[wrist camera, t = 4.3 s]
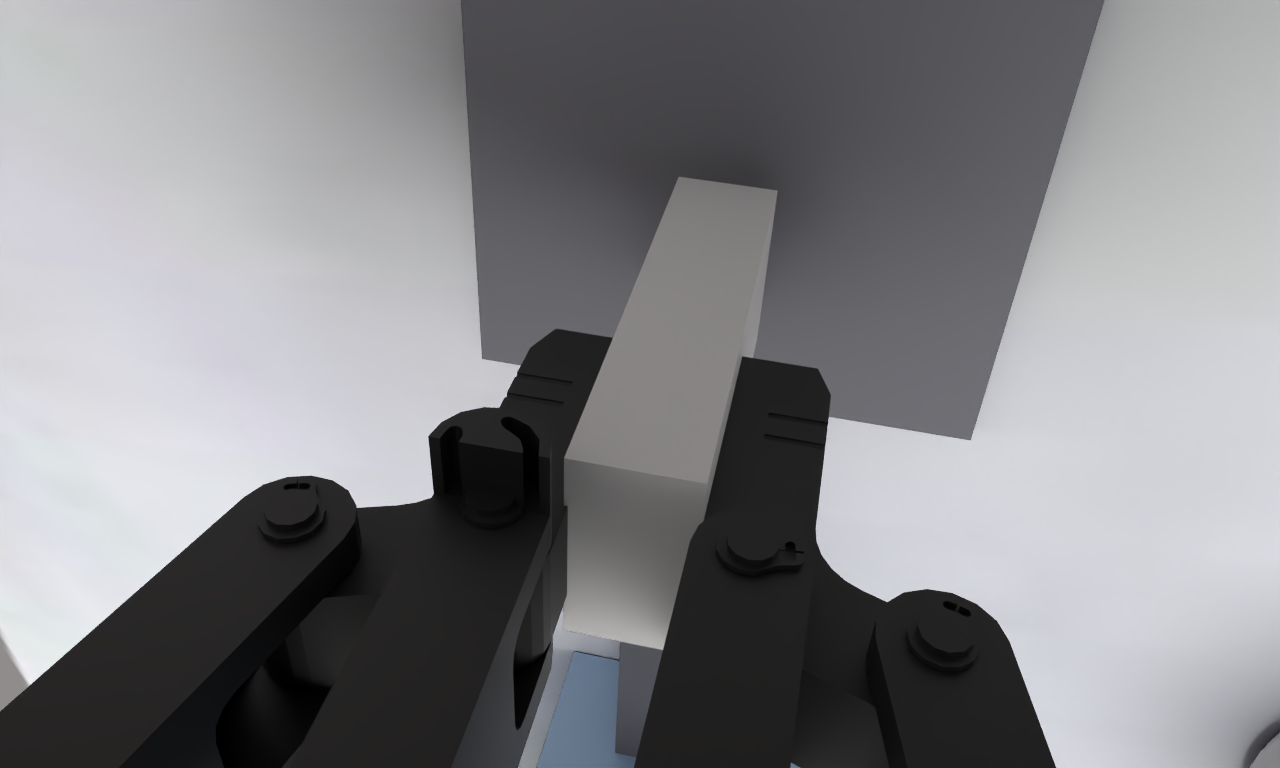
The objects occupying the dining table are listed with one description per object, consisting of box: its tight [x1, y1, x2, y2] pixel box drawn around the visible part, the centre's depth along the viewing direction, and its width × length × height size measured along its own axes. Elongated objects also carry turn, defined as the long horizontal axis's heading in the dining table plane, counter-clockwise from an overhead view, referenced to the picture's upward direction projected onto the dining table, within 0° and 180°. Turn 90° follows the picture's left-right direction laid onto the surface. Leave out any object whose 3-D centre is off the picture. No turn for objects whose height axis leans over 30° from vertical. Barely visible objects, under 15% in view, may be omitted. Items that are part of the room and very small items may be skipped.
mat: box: [461, 0, 1104, 440], centre depth 17 cm, size 8×9×1 cm
